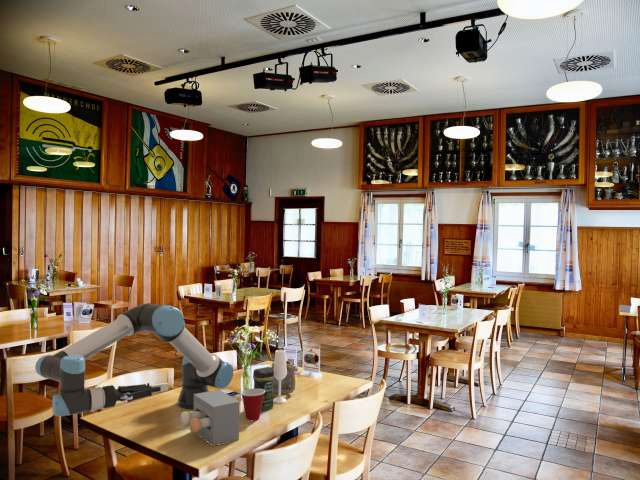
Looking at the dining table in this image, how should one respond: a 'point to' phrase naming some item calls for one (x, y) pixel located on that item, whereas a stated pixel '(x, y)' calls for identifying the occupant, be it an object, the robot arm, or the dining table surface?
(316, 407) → the dining table surface
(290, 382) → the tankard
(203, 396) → the block
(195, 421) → the terracotta knob
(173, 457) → the dining table surface
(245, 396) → the plastic cup
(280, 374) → the champagne flute
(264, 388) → the coffee jar
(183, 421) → the ivory knob
